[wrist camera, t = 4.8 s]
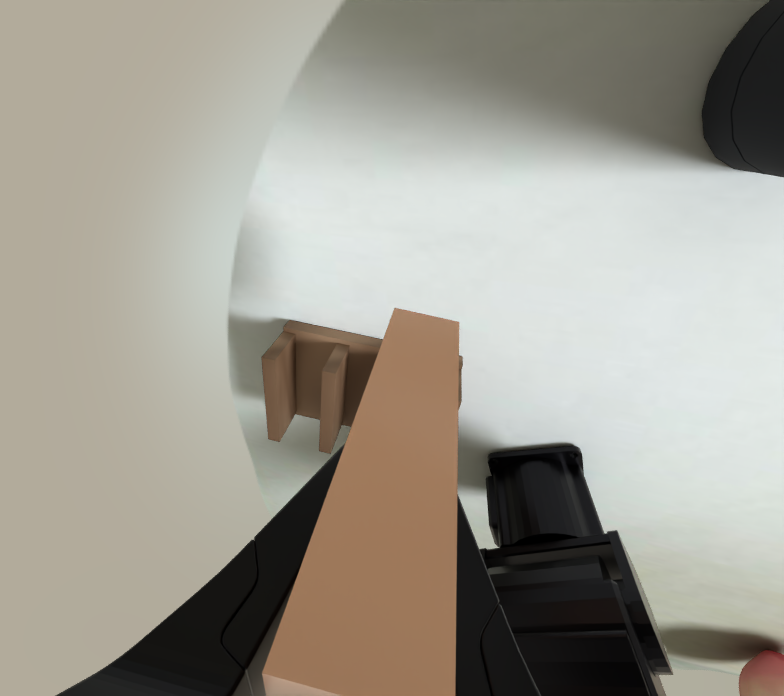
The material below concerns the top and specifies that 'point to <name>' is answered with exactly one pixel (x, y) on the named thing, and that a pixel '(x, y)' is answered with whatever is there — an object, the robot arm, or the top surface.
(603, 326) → the top surface
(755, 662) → the decorative fruit
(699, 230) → the top surface
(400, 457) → the block
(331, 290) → the top surface
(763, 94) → the wine bottle
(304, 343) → the rack
